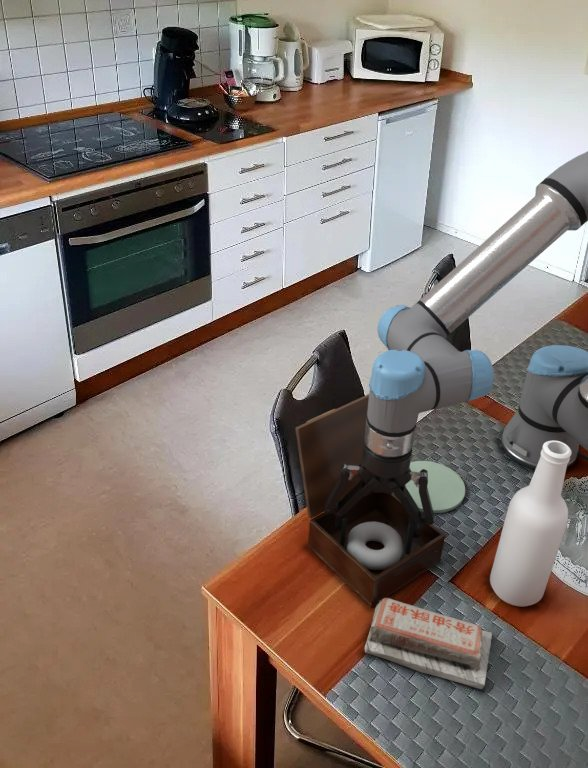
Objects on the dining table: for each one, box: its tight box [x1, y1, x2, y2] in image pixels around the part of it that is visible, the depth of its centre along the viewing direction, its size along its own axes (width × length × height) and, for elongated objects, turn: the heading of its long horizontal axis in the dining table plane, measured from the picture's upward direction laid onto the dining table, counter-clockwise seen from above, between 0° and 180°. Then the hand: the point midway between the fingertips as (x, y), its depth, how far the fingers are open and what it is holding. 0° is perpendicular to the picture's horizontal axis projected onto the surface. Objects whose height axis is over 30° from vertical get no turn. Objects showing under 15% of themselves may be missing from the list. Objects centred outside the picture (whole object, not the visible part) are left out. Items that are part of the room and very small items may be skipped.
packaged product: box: [363, 597, 493, 690], centre depth 111 cm, size 18×5×10 cm
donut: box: [346, 522, 404, 570], centre depth 126 cm, size 10×4×10 cm
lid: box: [294, 393, 369, 520], centre depth 127 cm, size 17×16×5 cm
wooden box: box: [307, 491, 447, 609], centre depth 126 cm, size 16×16×7 cm
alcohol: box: [489, 441, 572, 608], centre depth 114 cm, size 9×9×30 cm
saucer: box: [405, 460, 466, 514], centre depth 142 cm, size 14×14×1 cm
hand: (374, 544), depth 126 cm, fingers open, 10 cm apart
